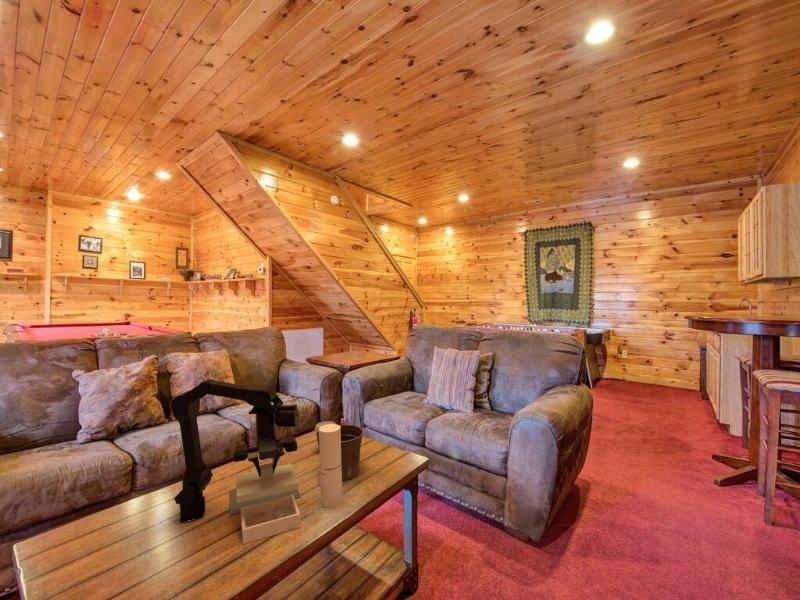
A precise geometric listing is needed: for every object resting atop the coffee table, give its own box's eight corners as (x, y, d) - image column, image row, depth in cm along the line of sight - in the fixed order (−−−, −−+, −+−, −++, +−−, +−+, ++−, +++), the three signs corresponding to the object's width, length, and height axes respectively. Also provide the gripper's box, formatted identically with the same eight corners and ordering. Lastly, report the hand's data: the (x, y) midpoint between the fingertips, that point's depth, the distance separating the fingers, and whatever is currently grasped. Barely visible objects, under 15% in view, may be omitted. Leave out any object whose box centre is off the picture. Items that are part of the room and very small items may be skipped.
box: (242, 544, 103) (242, 530, 103) (241, 520, 114) (240, 507, 114) (300, 527, 110) (300, 514, 110) (293, 506, 121) (293, 494, 121)
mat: (230, 515, 117) (230, 514, 117) (229, 491, 131) (229, 490, 131) (300, 497, 126) (300, 496, 126) (292, 476, 140) (292, 475, 140)
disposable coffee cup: (339, 447, 166) (339, 420, 165) (334, 456, 156) (333, 429, 156) (319, 446, 167) (318, 420, 166) (312, 456, 157) (311, 428, 157)
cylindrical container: (337, 508, 119) (335, 432, 119) (317, 506, 121) (315, 431, 120) (345, 496, 126) (343, 424, 126) (325, 494, 128) (324, 423, 127)
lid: (236, 503, 107) (236, 483, 107) (236, 480, 119) (236, 462, 119) (298, 488, 114) (298, 470, 114) (292, 469, 127) (291, 452, 126)
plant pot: (361, 484, 134) (360, 441, 133) (317, 484, 134) (316, 441, 133) (366, 463, 150) (365, 424, 149) (327, 463, 150) (326, 424, 150)
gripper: (233, 441, 105) (234, 494, 106) (299, 430, 113) (300, 480, 113) (233, 428, 115) (234, 476, 116) (294, 418, 123) (295, 464, 123)
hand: (266, 474), depth 117 cm, fingers closed on lid, 3 cm apart
